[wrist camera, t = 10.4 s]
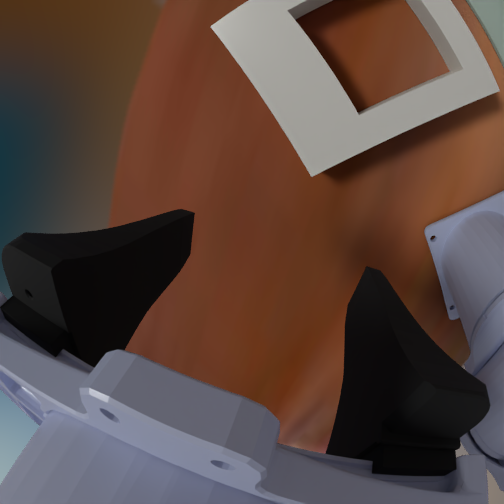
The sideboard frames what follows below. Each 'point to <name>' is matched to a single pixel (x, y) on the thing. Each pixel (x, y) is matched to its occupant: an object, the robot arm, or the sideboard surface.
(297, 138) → the bulb holder
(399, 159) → the sideboard surface
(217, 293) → the sideboard surface
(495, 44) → the mat
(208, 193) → the sideboard surface
